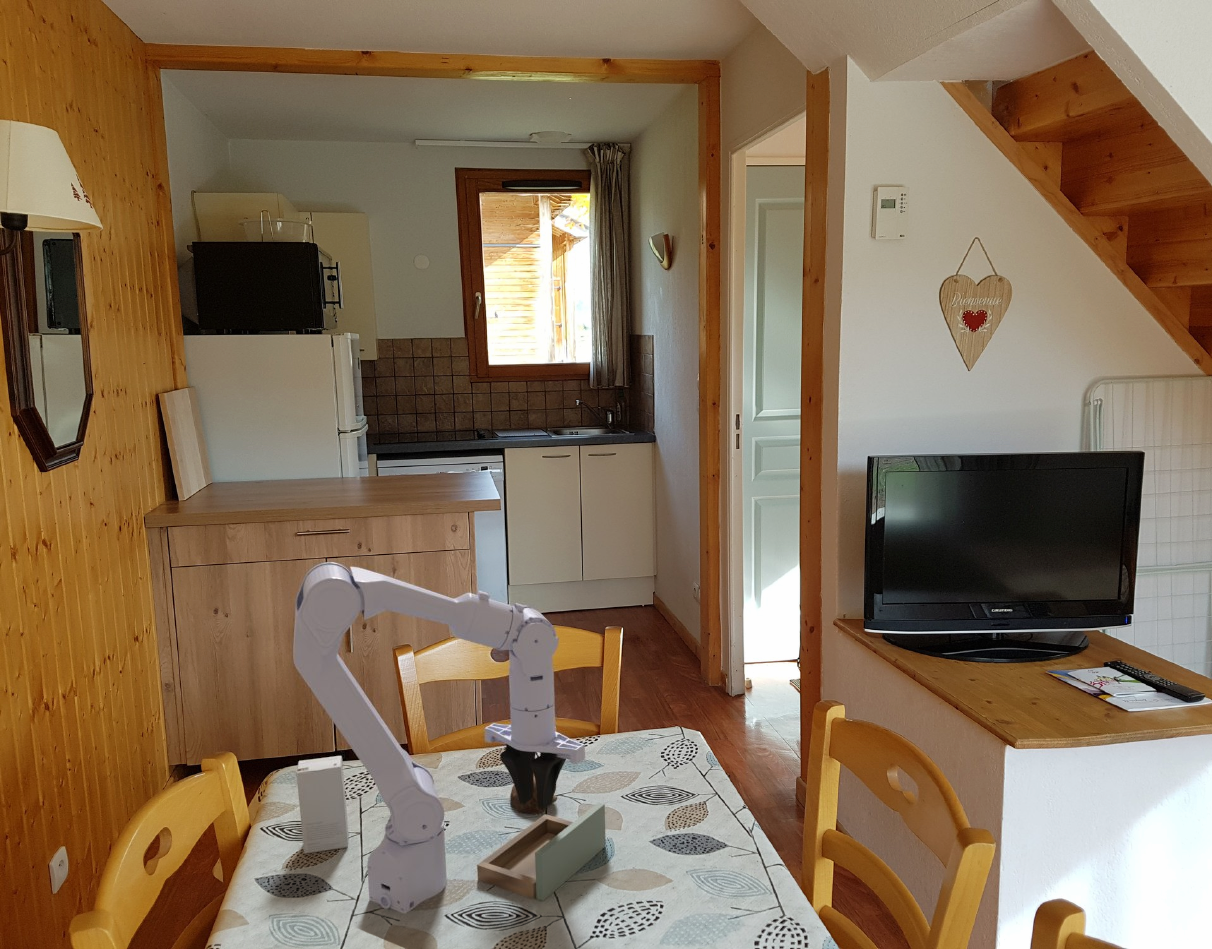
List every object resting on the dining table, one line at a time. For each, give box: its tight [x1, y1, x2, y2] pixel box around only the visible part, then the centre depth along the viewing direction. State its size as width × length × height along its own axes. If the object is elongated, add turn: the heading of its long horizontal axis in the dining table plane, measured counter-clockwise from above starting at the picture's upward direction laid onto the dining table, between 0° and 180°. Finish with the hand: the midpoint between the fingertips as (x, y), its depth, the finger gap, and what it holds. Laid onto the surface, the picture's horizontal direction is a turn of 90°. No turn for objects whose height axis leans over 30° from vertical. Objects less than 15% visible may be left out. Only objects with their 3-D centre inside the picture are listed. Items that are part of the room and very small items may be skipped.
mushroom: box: [509, 773, 558, 815], centre depth 140 cm, size 8×8×6 cm
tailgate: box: [535, 802, 607, 902], centre depth 121 cm, size 1×15×6 cm, turn 149°
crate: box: [476, 814, 574, 900], centre depth 124 cm, size 9×15×4 cm, turn 149°
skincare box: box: [295, 755, 350, 854], centre depth 132 cm, size 6×4×12 cm
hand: (535, 803), depth 123 cm, fingers open, 2 cm apart
